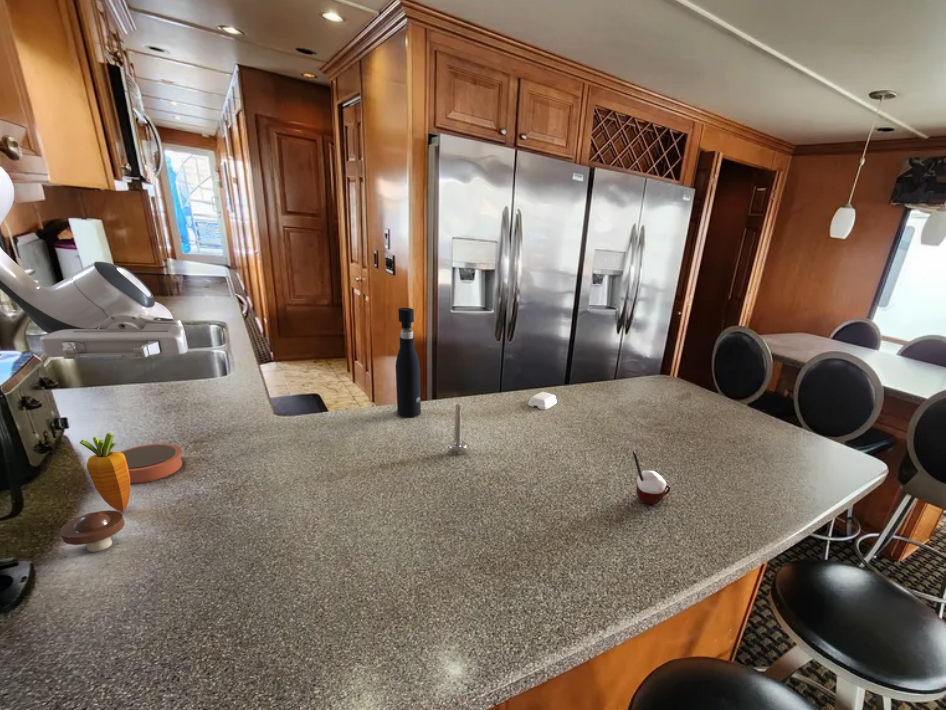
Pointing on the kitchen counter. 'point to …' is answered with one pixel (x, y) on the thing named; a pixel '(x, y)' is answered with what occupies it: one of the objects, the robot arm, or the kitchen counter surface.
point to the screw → (457, 434)
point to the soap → (543, 400)
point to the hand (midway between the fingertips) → (104, 353)
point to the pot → (152, 461)
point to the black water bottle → (407, 369)
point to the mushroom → (93, 529)
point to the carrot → (109, 472)
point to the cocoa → (650, 485)
